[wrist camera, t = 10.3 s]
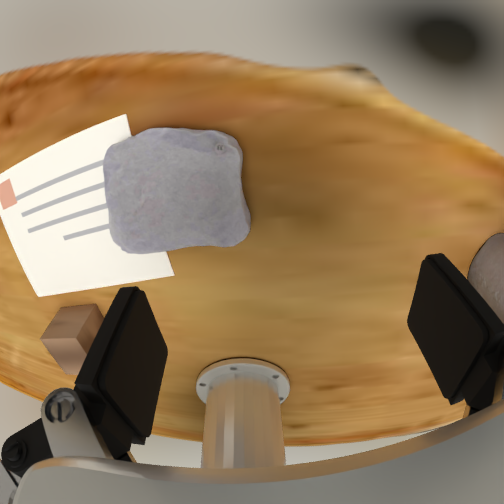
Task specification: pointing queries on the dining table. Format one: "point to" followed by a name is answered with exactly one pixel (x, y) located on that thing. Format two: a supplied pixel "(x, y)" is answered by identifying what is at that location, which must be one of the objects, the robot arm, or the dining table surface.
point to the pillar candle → (490, 273)
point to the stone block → (175, 190)
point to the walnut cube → (72, 335)
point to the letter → (70, 217)
